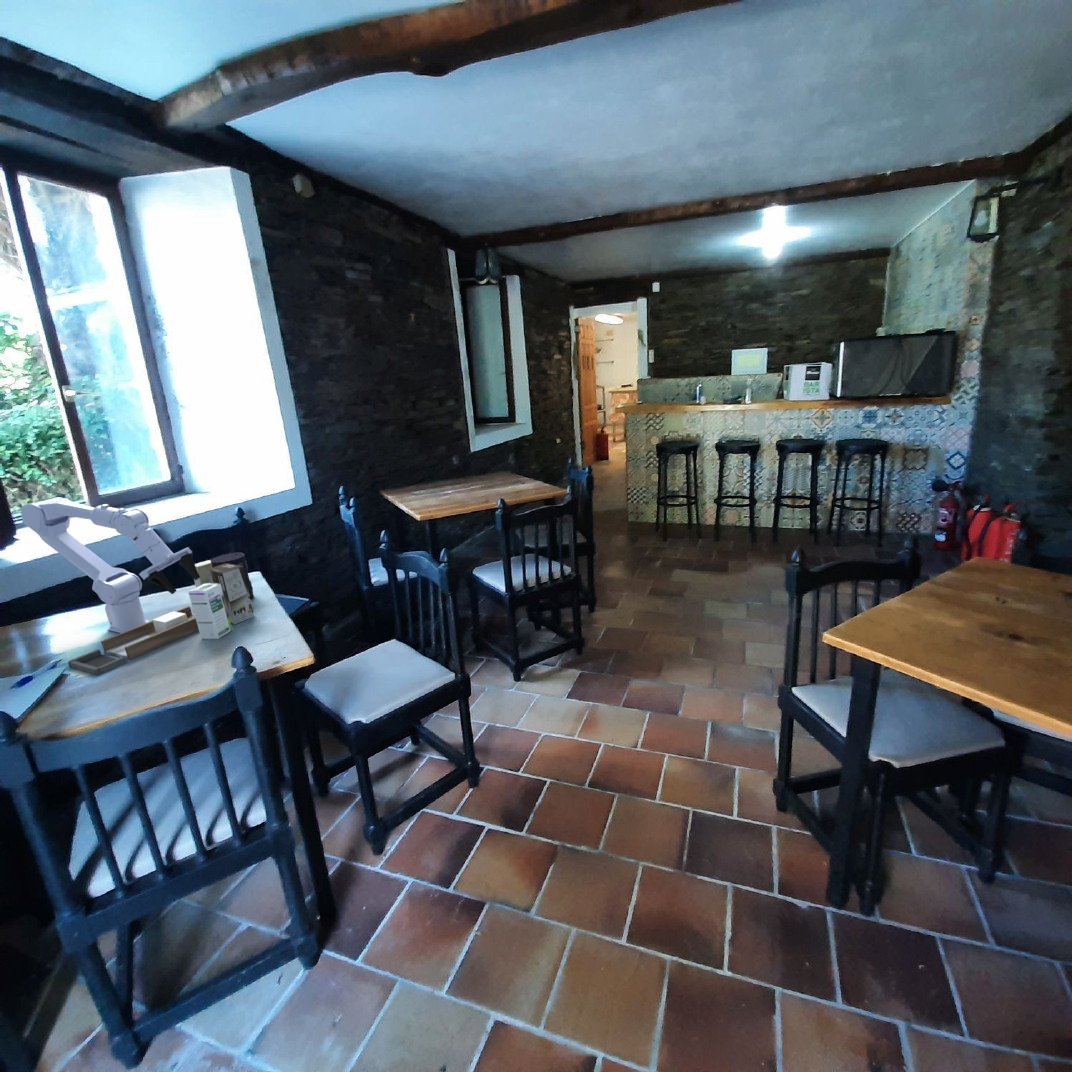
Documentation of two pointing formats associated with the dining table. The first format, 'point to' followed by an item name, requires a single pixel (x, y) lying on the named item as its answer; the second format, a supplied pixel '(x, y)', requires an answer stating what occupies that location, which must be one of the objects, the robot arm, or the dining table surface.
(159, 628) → the cream block
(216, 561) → the storage jar
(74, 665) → the tray
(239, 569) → the coffee box
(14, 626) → the dining table surface
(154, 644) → the walled channel
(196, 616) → the syrup box
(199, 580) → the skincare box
